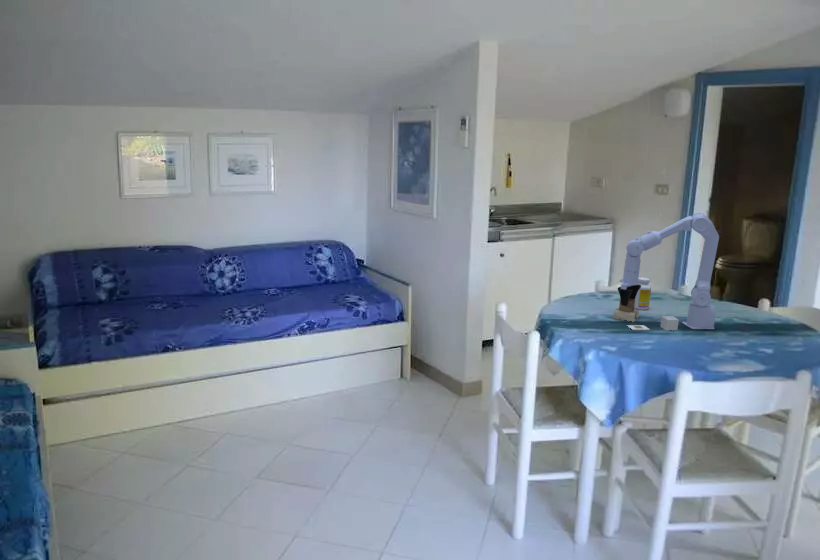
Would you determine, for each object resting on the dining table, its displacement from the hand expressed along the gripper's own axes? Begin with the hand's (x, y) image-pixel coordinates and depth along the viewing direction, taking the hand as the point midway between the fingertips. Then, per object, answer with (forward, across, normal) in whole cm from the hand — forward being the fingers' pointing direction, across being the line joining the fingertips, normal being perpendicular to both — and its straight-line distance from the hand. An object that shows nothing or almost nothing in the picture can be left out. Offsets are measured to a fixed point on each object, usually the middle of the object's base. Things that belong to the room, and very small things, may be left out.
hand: (627, 303), depth 264 cm
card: (+6, +10, +8) cm, 14 cm away
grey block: (+6, +2, +18) cm, 19 cm away
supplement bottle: (+6, -19, -1) cm, 20 cm away
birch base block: (+6, 0, 0) cm, 6 cm away
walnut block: (+3, 0, 0) cm, 3 cm away
